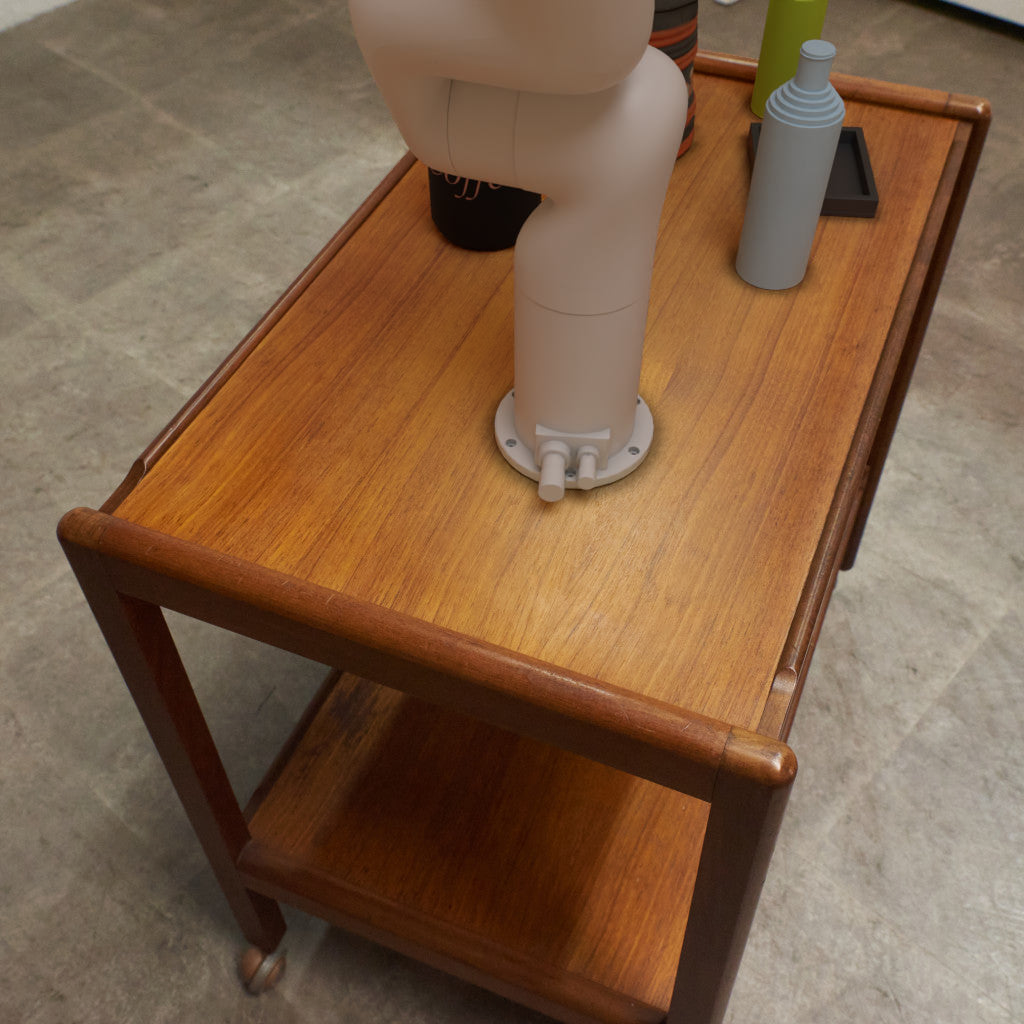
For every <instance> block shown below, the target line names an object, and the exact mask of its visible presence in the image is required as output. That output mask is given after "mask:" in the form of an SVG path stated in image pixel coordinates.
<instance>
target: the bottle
mask: <svg viewBox="0 0 1024 1024" xmlns="http://www.w3.org/2000/svg"><path fill="white" fill-rule="evenodd" d="M836 53H837V48H836V46H835V45H834V44H833V43H832V42H829V41H827V40H823V39H820V40H809V41H806V42H804V43H803V45H802V47H801V48H800V57H799V62H798V67H797V72H796V76H794V77H793V78H792V79H791V80H789V81H787V82H786V83H785V84H783V85H781V86H780V87H779V88H778V89H776V90H775V91H773V92H772V94H771V96H770V97H769V98H768V100H767V101H766V106H765V111H764V116H763V119H762V121H761V123H762V127H761V132H760V137H759V143H758V148H757V153H756V159H755V164H754V169H753V174H752V177H751V181H750V186H749V191H748V196H747V202H746V205H745V213H744V217H743V223H742V228H741V233H740V237H739V243H738V249H737V254H736V259H735V266H734V267H735V271H736V273H737V275H738V276H739V277H740V278H741V279H742V280H743V281H744V282H746V283H747V284H749V285H751V286H753V287H756V288H759V289H762V290H770V291H781V290H787V289H791V288H793V287H795V286H798V285H799V284H800V283H801V282H802V281H803V280H804V278H805V275H806V272H807V267H808V263H809V260H810V255H811V252H812V248H813V244H814V240H815V235H816V232H817V228H818V224H819V219H820V216H821V215H820V212H821V208H822V204H823V200H824V196H825V192H826V188H827V184H828V180H829V176H830V172H831V169H832V165H833V161H834V157H835V153H836V149H837V145H838V141H839V137H840V133H841V129H842V126H843V124H844V121H845V116H846V108H845V102H844V100H843V98H842V97H841V96H840V94H839V92H837V90H836V88H835V87H834V85H832V83H831V81H830V76H831V71H832V67H833V63H834V59H835V56H836Z"/></svg>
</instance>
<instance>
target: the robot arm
mask: <svg viewBox="0 0 1024 1024" xmlns="http://www.w3.org/2000/svg"><path fill="white" fill-rule="evenodd" d="M347 3H348V12H349V17H350V18H349V19H350V23H351V26H352V29H353V33H354V37H355V39H356V42H357V45H358V47H359V50H360V51H361V54H362V58H363V59H364V62H365V64H366V67H367V69H368V70H369V72H370V75H371V76H372V79H373V81H374V83H375V84H376V87H377V88H378V91H379V93H380V95H381V97H382V99H383V101H384V103H385V105H386V107H387V109H388V111H389V113H390V115H391V117H392V119H393V121H394V123H395V125H396V127H397V129H398V131H399V133H400V135H401V137H402V140H403V141H404V143H405V144H406V146H407V147H408V150H409V151H410V152H411V153H412V154H413V156H414V157H415V158H416V159H417V161H420V163H422V164H424V165H425V166H426V167H427V168H428V167H430V168H432V169H434V170H437V171H440V172H443V173H447V174H451V175H455V176H460V177H464V178H469V179H474V180H479V181H484V182H490V183H495V184H500V185H505V186H510V187H515V188H521V189H523V190H526V191H531V192H535V193H539V194H541V195H543V196H545V198H544V200H541V203H540V205H539V206H538V207H537V208H536V209H535V210H534V211H533V212H532V213H531V215H530V216H529V217H528V219H527V220H526V222H525V223H524V224H523V226H522V228H521V230H520V233H519V235H518V237H517V241H516V245H515V246H514V249H513V250H514V251H513V308H514V309H513V366H514V367H513V368H514V369H513V371H514V372H513V387H512V388H511V389H510V390H509V391H508V392H507V393H506V394H505V396H504V397H503V398H502V400H501V401H500V403H499V405H498V407H497V410H496V412H495V418H494V437H495V441H496V444H497V447H498V449H499V451H500V453H501V455H502V457H503V458H504V459H505V461H507V463H508V464H509V465H510V466H511V467H512V468H514V469H515V470H516V471H518V472H519V473H521V475H524V476H525V477H527V478H529V479H532V480H533V481H535V482H538V491H537V494H538V495H537V496H539V498H540V499H541V500H543V501H545V502H550V503H554V502H559V501H560V500H563V498H564V496H565V491H566V489H579V490H580V489H581V490H584V491H587V490H592V489H594V488H597V487H601V486H605V485H609V484H612V483H614V482H617V481H619V480H621V479H623V478H625V477H627V476H628V475H630V474H631V473H632V472H634V471H635V470H636V469H637V468H638V467H639V466H641V464H642V463H644V461H645V459H646V457H647V456H648V454H649V453H650V451H651V447H652V443H653V441H654V440H653V439H654V432H655V431H654V430H655V426H654V425H655V424H654V418H653V414H652V412H651V410H650V407H649V405H648V404H647V403H646V401H645V399H644V398H643V397H642V396H641V395H640V394H639V389H640V382H641V372H642V364H643V356H644V347H645V339H646V331H647V324H648V323H647V322H648V313H649V305H650V298H651V289H652V281H653V272H654V264H655V257H656V249H657V243H658V242H657V241H658V233H659V228H660V223H661V218H662V212H663V209H664V204H665V200H666V196H667V192H668V189H669V185H670V181H671V178H672V175H673V171H674V167H675V164H676V161H677V159H676V158H677V154H678V151H679V148H680V144H681V141H682V137H683V132H684V128H685V123H686V118H687V109H688V92H687V86H686V82H685V79H684V76H683V74H682V72H681V71H680V69H679V67H678V66H677V65H676V64H675V62H674V61H673V60H672V59H671V58H670V57H668V56H667V55H666V54H664V53H663V52H661V51H660V50H658V49H656V48H654V47H652V46H650V45H648V42H649V39H650V36H651V32H652V26H653V17H654V8H655V0H347Z"/></svg>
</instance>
